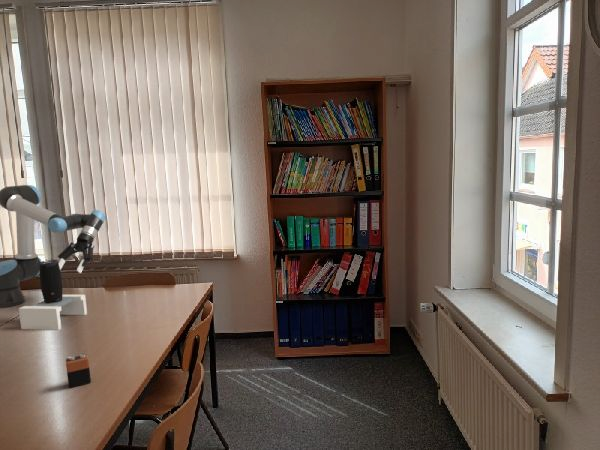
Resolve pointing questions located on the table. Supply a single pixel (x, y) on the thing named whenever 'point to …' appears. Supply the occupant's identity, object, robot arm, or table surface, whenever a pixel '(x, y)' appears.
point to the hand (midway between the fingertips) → (67, 271)
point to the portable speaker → (51, 281)
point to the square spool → (51, 312)
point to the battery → (78, 370)
